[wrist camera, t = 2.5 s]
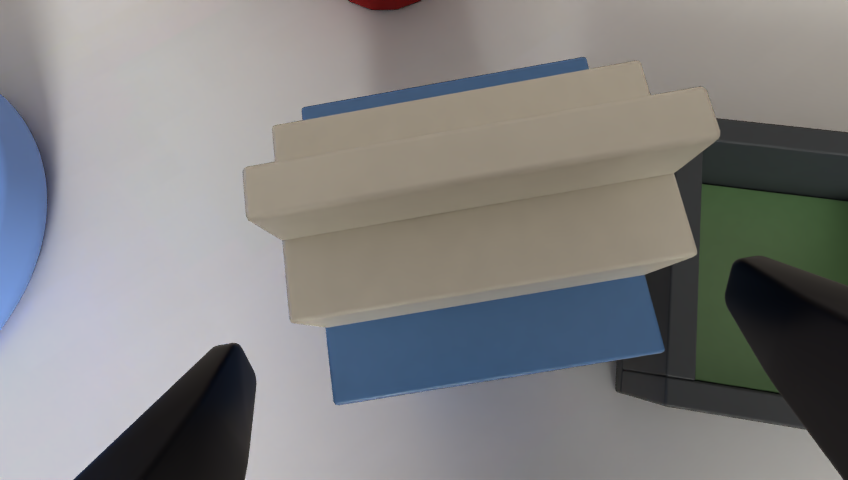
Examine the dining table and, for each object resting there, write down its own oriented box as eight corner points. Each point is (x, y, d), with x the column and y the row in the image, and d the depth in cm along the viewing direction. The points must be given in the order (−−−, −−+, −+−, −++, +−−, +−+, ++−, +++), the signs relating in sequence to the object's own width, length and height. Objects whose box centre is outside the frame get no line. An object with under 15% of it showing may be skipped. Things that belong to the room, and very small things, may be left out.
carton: (549, 347, 17) (799, 357, 5) (399, 372, 17) (259, 444, 5) (518, 204, 18) (651, -87, 6) (379, 228, 19) (225, -8, 6)
